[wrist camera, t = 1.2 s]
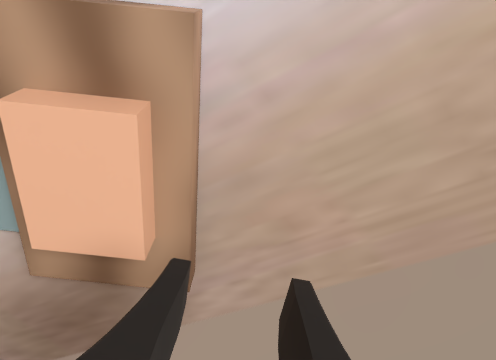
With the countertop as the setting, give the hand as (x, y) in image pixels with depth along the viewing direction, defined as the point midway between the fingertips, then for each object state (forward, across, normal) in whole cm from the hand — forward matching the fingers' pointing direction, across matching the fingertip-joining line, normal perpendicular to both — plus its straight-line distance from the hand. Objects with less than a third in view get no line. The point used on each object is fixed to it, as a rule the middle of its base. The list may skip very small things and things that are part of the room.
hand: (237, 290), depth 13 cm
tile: (+7, +8, +1) cm, 11 cm away
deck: (+9, +8, +1) cm, 12 cm away
